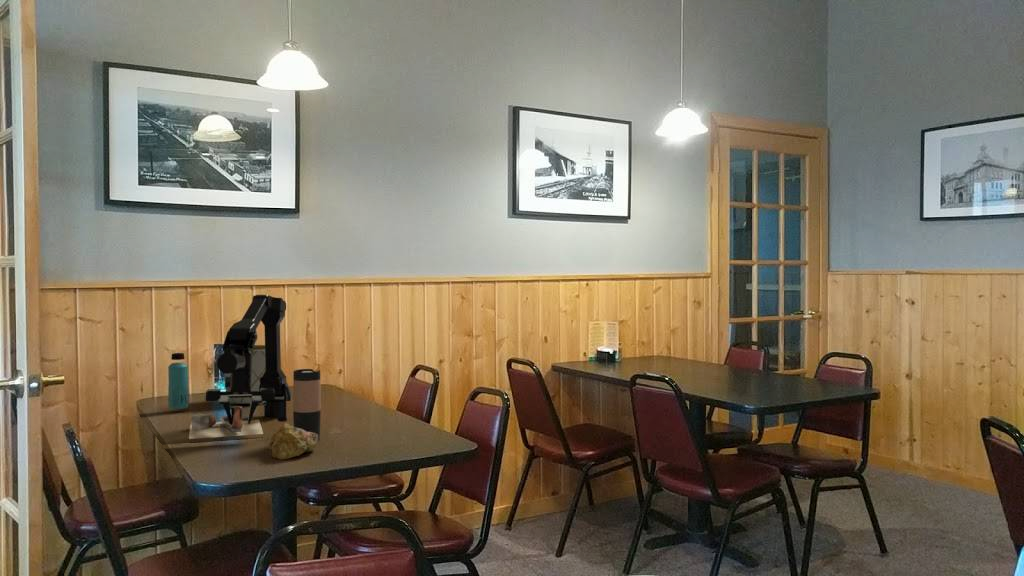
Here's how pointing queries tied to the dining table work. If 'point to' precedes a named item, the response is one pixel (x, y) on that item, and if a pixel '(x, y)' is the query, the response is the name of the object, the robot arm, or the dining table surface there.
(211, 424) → the walnut
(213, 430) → the base
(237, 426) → the lever
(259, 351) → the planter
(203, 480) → the dining table surface
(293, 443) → the rock
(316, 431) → the travel mug
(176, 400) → the beverage bottle
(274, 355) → the robot arm
